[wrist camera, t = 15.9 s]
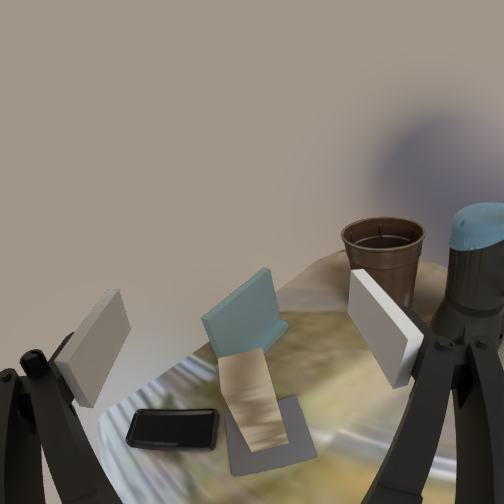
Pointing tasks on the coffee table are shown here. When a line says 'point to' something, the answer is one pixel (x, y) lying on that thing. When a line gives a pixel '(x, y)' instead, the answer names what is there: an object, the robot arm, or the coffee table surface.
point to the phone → (174, 430)
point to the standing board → (246, 318)
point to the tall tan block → (252, 399)
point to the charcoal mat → (276, 456)
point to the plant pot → (386, 253)
